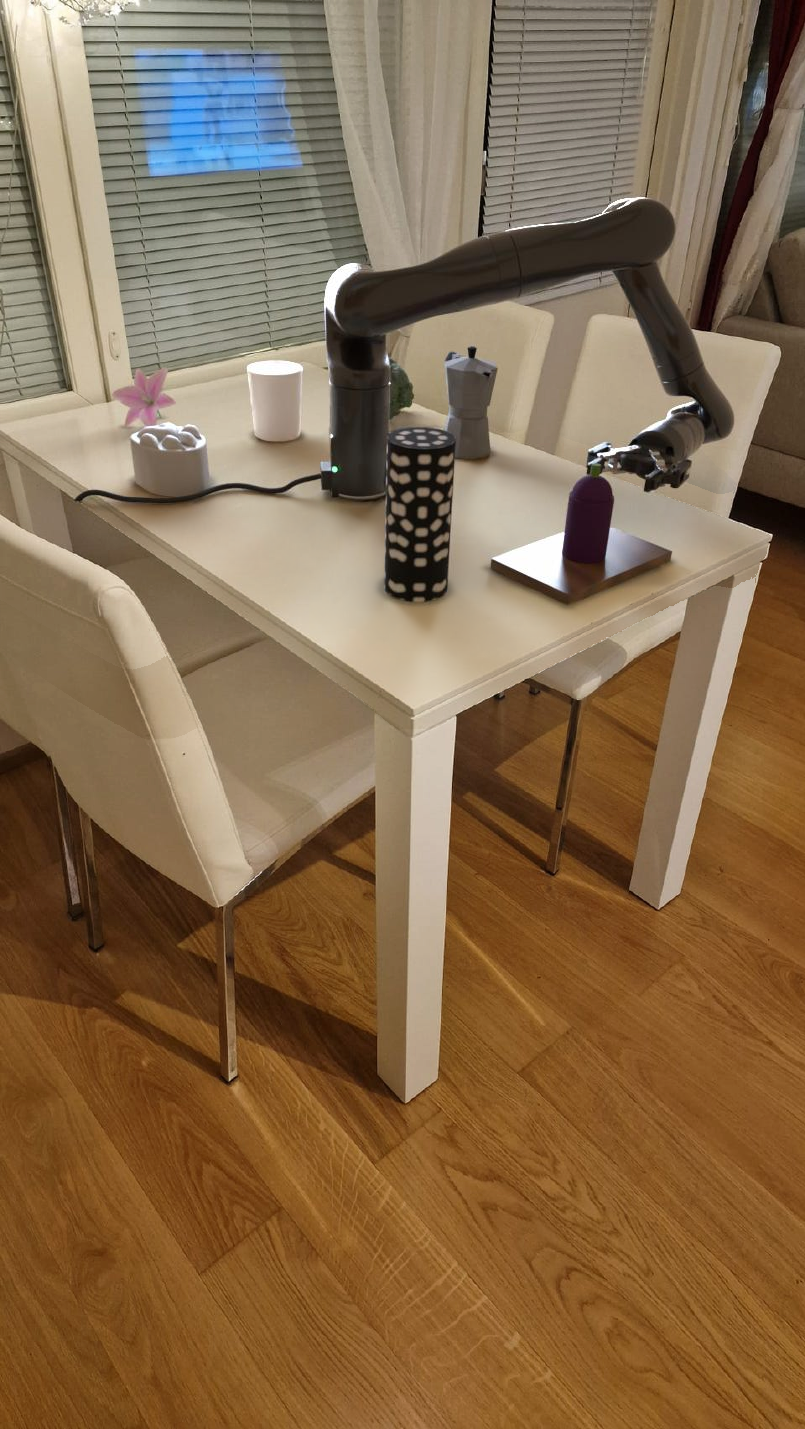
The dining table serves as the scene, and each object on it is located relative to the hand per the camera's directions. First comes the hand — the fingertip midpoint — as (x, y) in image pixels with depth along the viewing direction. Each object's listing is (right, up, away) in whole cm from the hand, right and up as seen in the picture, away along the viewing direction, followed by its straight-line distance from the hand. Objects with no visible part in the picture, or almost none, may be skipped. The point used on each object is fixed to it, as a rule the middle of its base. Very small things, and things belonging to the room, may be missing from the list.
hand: (618, 478), depth 137 cm
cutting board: (-5, -12, -1) cm, 13 cm away
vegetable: (-34, +24, +53) cm, 68 cm away
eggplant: (-5, -11, -2) cm, 12 cm away
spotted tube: (-29, -17, -8) cm, 34 cm away
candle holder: (-53, +18, +43) cm, 71 cm away
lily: (-78, +21, +46) cm, 93 cm away
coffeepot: (-19, +14, +39) cm, 46 cm away
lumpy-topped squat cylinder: (-67, +4, +21) cm, 70 cm away
